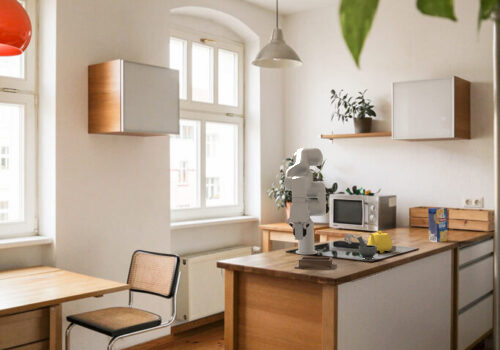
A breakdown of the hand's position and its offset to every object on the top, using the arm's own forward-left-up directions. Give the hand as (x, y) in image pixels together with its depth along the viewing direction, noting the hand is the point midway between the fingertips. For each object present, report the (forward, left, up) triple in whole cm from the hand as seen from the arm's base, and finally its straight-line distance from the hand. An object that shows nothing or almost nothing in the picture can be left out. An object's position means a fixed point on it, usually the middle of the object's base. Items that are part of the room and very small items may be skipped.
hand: (299, 236), depth 267 cm
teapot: (-50, +40, -16) cm, 66 cm away
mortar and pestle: (-25, +33, -15) cm, 44 cm away
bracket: (-80, +28, -16) cm, 87 cm away
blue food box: (-102, +79, -15) cm, 130 cm away
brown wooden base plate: (+2, +8, -15) cm, 17 cm away
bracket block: (0, 0, -2) cm, 2 cm away
